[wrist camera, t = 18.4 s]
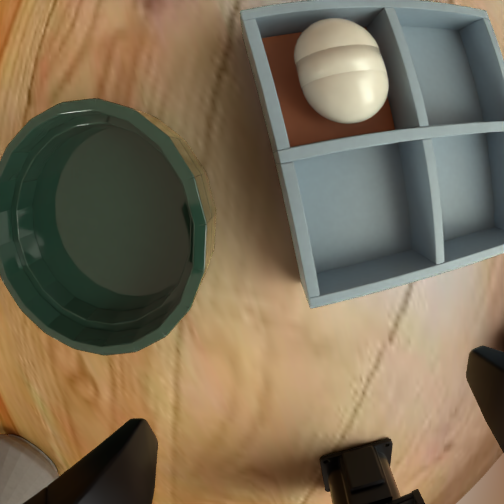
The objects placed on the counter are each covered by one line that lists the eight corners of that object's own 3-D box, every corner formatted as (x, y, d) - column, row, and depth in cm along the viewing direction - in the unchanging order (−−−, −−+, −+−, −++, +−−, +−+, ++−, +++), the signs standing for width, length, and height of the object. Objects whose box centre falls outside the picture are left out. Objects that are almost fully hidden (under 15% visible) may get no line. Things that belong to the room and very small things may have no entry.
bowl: (242, 301, 19) (239, 336, 15) (66, 332, 20) (38, 361, 16) (184, 77, 15) (165, 57, 12) (9, 155, 16) (-30, 159, 13)
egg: (375, 122, 16) (415, 114, 12) (303, 134, 16) (326, 125, 12) (350, 33, 14) (381, 4, 10) (278, 40, 14) (292, 6, 10)
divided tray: (496, 232, 18) (527, 245, 14) (301, 283, 19) (310, 309, 15) (458, 25, 14) (486, 10, 10) (242, 35, 15) (239, 10, 11)
